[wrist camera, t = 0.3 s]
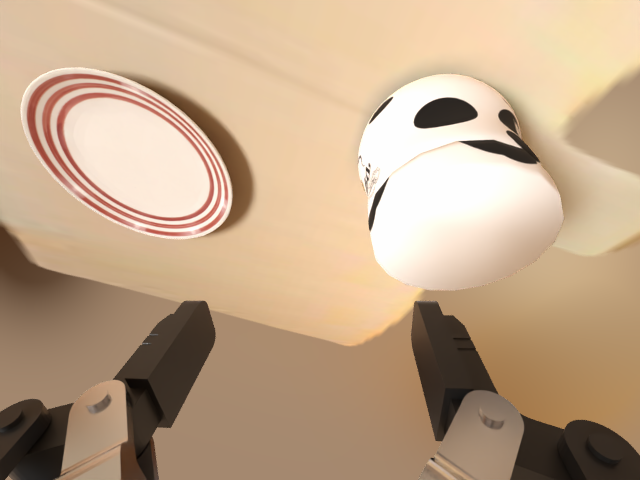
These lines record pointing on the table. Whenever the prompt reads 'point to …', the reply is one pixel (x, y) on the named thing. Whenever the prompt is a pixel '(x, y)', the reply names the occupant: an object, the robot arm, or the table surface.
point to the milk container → (454, 186)
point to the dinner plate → (126, 153)
